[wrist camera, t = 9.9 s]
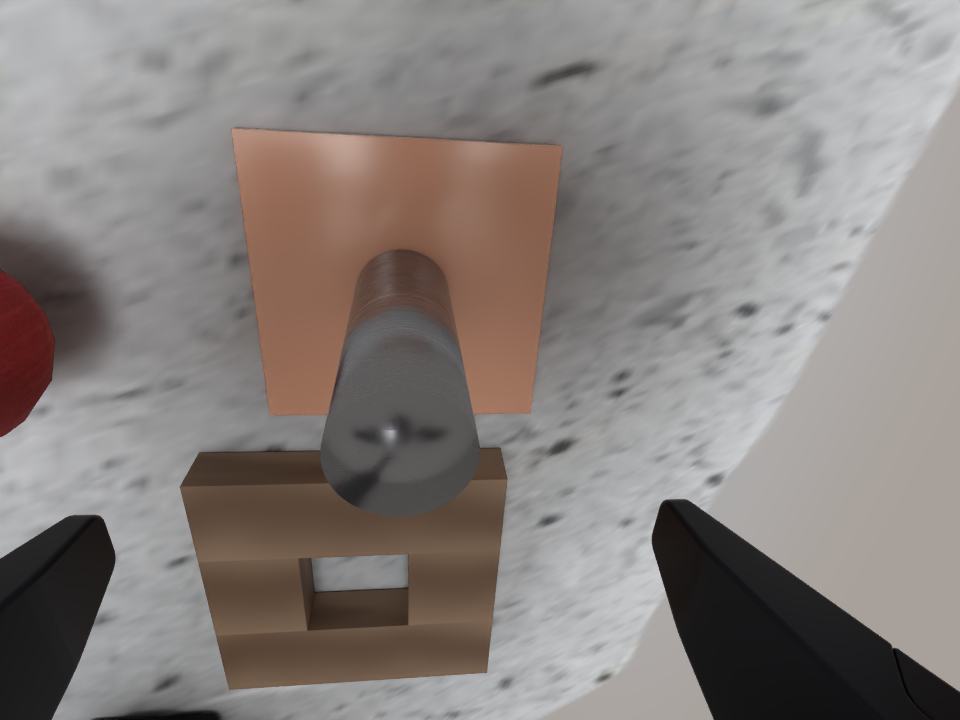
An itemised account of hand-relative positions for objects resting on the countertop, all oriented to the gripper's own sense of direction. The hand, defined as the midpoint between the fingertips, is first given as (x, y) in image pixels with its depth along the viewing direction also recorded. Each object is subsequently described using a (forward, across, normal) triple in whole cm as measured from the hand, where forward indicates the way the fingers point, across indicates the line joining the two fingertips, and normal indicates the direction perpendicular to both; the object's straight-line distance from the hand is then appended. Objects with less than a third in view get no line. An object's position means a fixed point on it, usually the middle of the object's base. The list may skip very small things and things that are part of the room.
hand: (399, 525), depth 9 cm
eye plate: (+12, +2, +13) cm, 18 cm away
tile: (+12, 0, 0) cm, 12 cm away
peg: (+11, 0, 0) cm, 11 cm away
